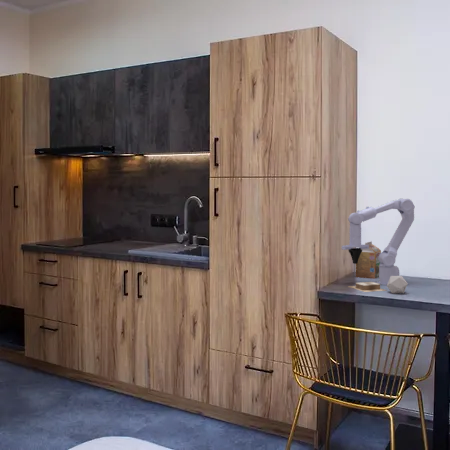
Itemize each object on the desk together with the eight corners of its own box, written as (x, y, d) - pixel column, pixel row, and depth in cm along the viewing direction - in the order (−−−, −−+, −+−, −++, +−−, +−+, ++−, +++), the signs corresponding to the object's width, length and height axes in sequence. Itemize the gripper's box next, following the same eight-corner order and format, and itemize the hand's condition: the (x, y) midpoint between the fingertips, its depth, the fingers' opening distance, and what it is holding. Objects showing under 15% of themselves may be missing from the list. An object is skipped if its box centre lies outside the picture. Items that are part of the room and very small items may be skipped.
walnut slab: (371, 281, 263) (380, 284, 257) (371, 286, 263) (380, 289, 257) (355, 282, 261) (363, 285, 254) (355, 287, 261) (363, 290, 254)
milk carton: (374, 278, 289) (374, 243, 288) (355, 277, 295) (355, 242, 294) (380, 276, 298) (381, 241, 297) (362, 274, 304) (362, 241, 302)
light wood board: (368, 285, 269) (368, 284, 269) (387, 290, 254) (387, 290, 254) (347, 286, 265) (347, 286, 265) (365, 292, 250) (365, 292, 250)
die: (404, 296, 242) (413, 278, 245) (386, 287, 244) (395, 269, 246) (398, 299, 250) (407, 282, 253) (381, 290, 251) (390, 273, 254)
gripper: (363, 235, 278) (363, 261, 279) (338, 236, 274) (338, 263, 274) (371, 236, 271) (371, 263, 272) (345, 237, 267) (345, 264, 268)
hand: (355, 263), depth 273 cm, fingers closed
